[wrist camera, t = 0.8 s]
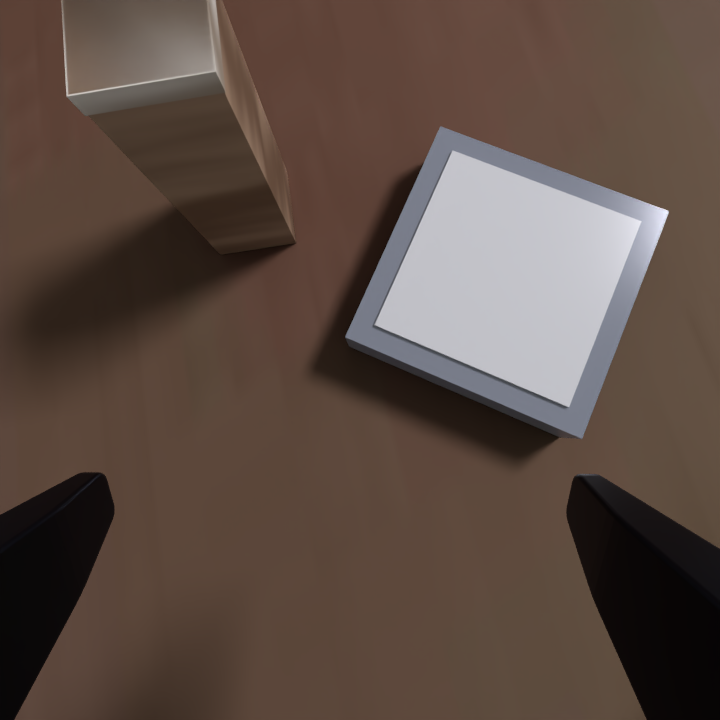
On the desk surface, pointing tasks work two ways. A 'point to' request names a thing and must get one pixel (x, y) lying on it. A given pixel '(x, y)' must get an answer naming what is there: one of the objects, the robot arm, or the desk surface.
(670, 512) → the desk surface
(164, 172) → the beige rectangular block
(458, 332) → the plinth
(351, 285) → the desk surface
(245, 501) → the desk surface
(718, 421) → the desk surface
